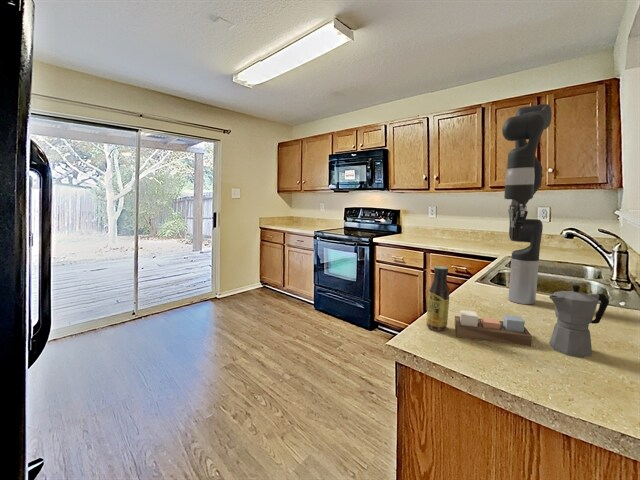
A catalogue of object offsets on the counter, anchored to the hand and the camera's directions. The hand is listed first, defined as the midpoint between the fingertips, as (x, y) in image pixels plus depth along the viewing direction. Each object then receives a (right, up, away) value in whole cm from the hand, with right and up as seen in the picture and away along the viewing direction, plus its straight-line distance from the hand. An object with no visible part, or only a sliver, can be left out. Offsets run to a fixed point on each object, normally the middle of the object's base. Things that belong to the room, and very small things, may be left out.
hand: (515, 239), depth 99 cm
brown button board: (-10, -29, -4) cm, 31 cm away
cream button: (-16, -27, -2) cm, 31 cm away
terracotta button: (-10, -28, -4) cm, 30 cm away
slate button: (-5, -27, -6) cm, 28 cm away
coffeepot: (+8, -30, -13) cm, 34 cm away
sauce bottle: (-24, -28, +1) cm, 38 cm away
